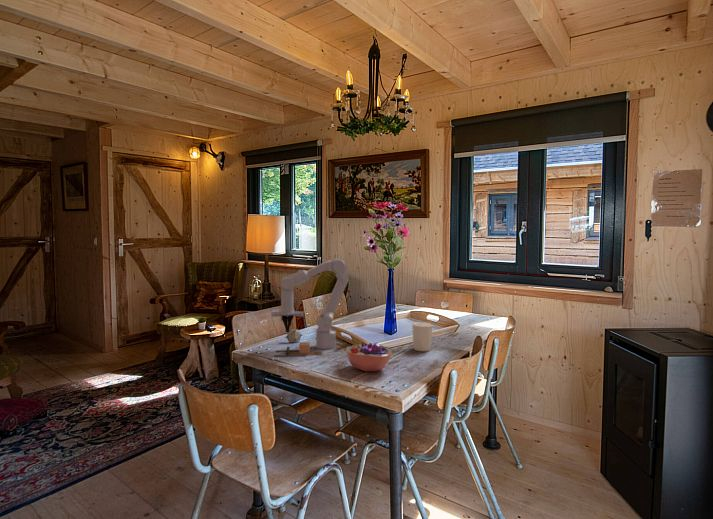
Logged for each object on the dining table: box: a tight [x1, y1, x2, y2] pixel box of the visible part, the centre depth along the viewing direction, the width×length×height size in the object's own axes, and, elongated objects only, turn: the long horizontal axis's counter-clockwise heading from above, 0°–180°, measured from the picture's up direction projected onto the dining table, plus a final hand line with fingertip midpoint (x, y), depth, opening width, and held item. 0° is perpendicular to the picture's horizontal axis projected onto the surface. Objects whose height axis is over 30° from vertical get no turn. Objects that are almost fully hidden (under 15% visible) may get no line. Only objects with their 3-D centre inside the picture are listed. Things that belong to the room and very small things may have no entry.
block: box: [298, 341, 311, 356], centre depth 195 cm, size 4×4×4 cm
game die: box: [284, 327, 302, 344], centre depth 216 cm, size 9×8×10 cm
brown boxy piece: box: [285, 346, 323, 357], centre depth 195 cm, size 16×6×4 cm, turn 95°
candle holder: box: [411, 321, 434, 352], centre depth 207 cm, size 10×10×12 cm
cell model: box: [345, 342, 393, 372], centre depth 177 cm, size 17×20×11 cm
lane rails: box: [273, 349, 307, 358], centre depth 195 cm, size 14×8×2 cm, turn 95°
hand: (287, 331), depth 202 cm, fingers closed
